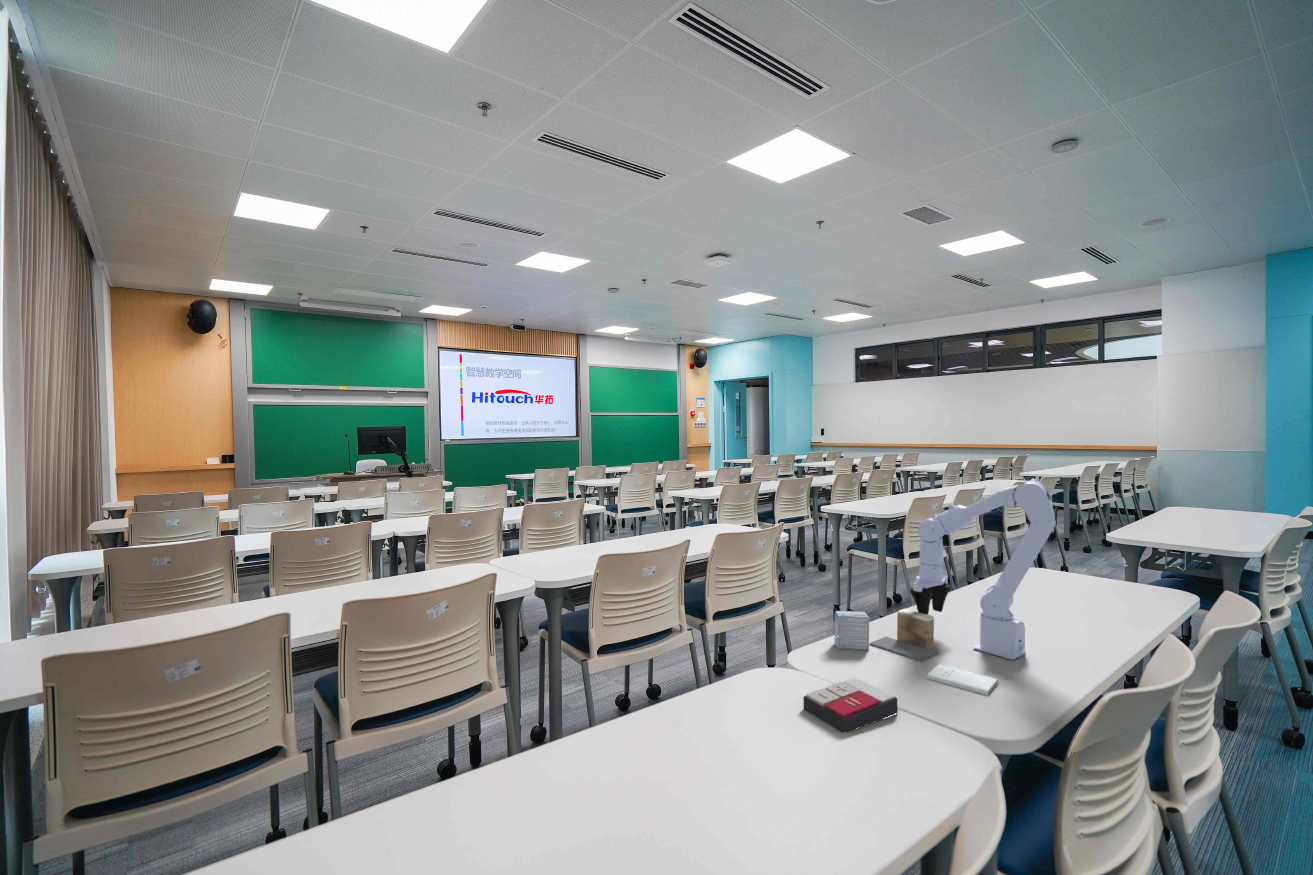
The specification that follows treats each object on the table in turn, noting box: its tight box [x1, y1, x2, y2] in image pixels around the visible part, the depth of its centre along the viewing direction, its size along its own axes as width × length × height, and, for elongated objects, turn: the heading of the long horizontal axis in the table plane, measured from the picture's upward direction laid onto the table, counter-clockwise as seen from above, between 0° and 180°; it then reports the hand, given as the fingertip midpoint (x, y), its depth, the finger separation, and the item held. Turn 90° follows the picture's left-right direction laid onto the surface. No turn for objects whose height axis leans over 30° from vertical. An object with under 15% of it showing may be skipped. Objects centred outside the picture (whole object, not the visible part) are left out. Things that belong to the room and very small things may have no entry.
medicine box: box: [834, 610, 870, 651], centre depth 153 cm, size 8×4×9 cm, turn 84°
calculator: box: [802, 677, 899, 733], centre depth 119 cm, size 11×4×15 cm
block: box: [896, 608, 935, 650], centre depth 156 cm, size 8×4×8 cm, turn 38°
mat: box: [869, 636, 939, 662], centre depth 152 cm, size 14×8×1 cm, turn 38°
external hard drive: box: [926, 664, 999, 696], centre depth 133 cm, size 2×8×12 cm
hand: (930, 613), depth 160 cm, fingers open, 7 cm apart
